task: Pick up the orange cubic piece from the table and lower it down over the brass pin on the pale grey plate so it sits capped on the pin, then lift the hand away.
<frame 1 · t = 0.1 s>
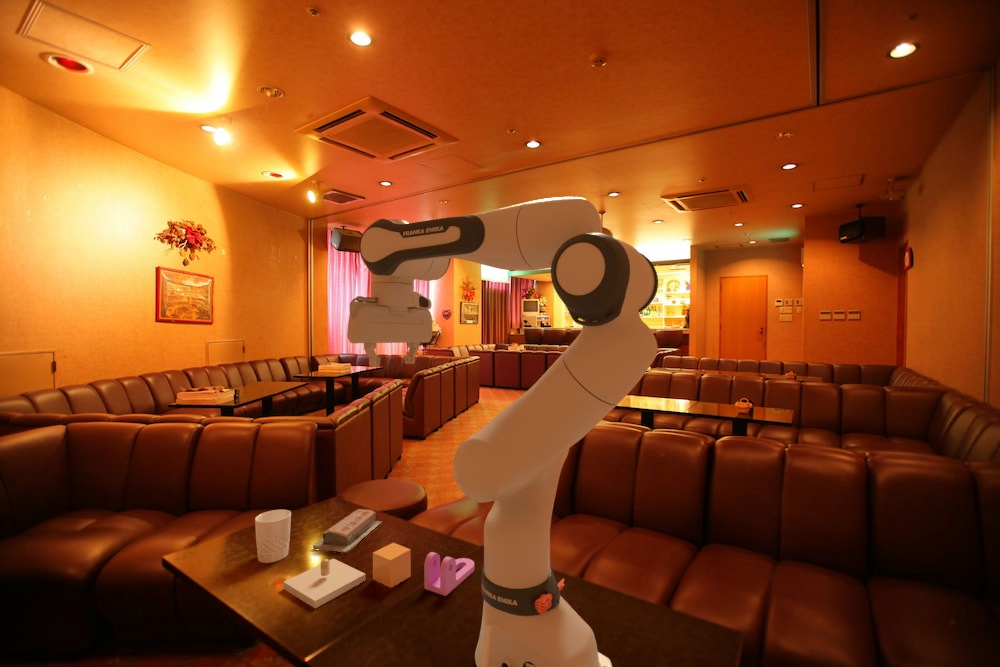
hand: (393, 364, 91), 48 cm above the table, tool pointing down, fingers open, 8 cm apart
white cup: (273, 557, 106), on the table
bracket: (452, 579, 96), on the table
orange cubic piece: (392, 578, 96), on the table
packaged product: (349, 538, 117), on the table
pin plate: (325, 584, 94), on the table
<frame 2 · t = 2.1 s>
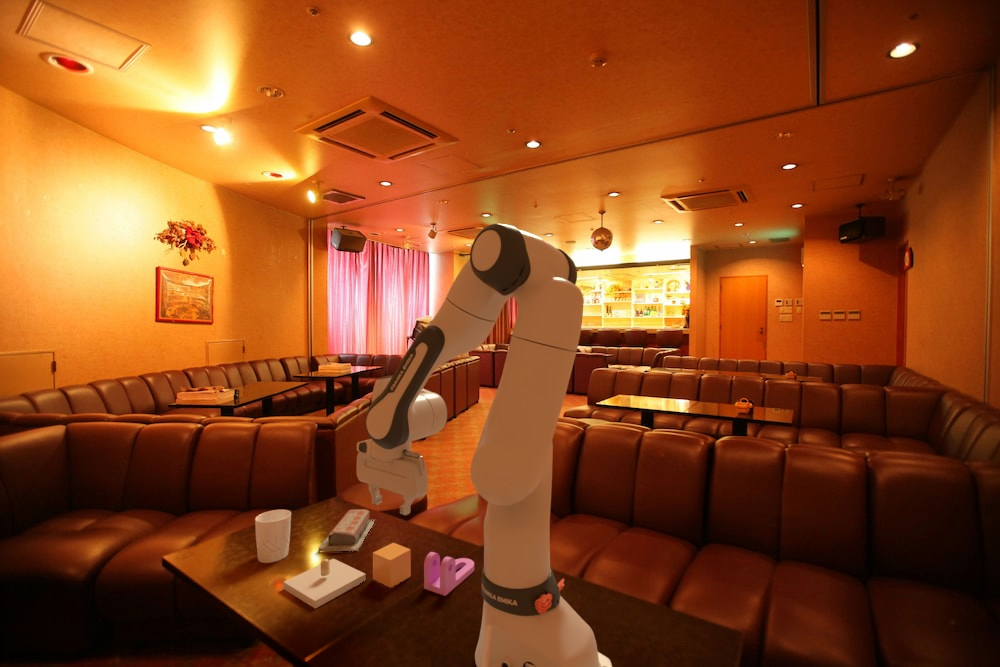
hand: (390, 508, 96), 15 cm above the table, tool pointing down, fingers open, 8 cm apart
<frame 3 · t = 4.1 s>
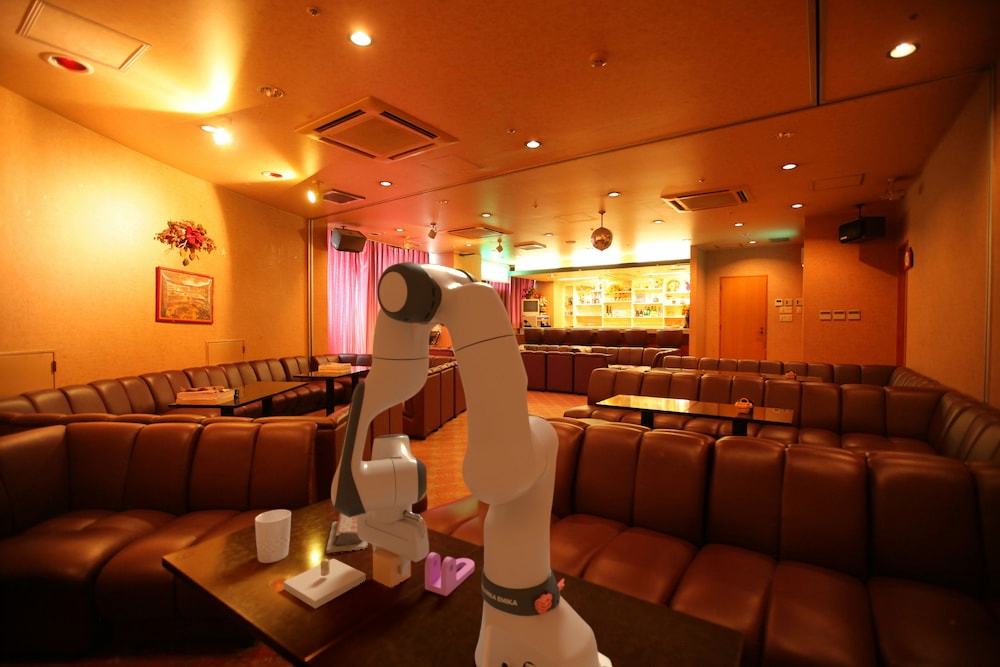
hand: (391, 568, 96), 2 cm above the table, tool pointing down, fingers closed on orange cubic piece, 6 cm apart
orange cubic piece: (392, 578, 96), on the table, touching gripper
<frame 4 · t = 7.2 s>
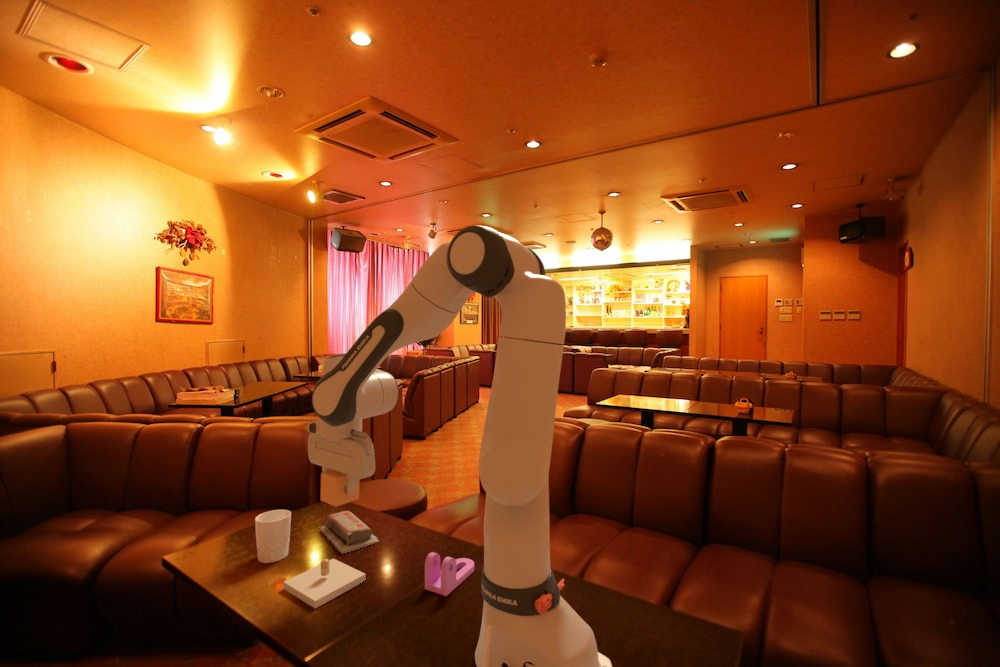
hand: (339, 490, 95), 20 cm above the table, tool pointing down, fingers closed on orange cubic piece, 6 cm apart
orange cubic piece: (340, 499, 95), point 18 cm above the table, touching gripper
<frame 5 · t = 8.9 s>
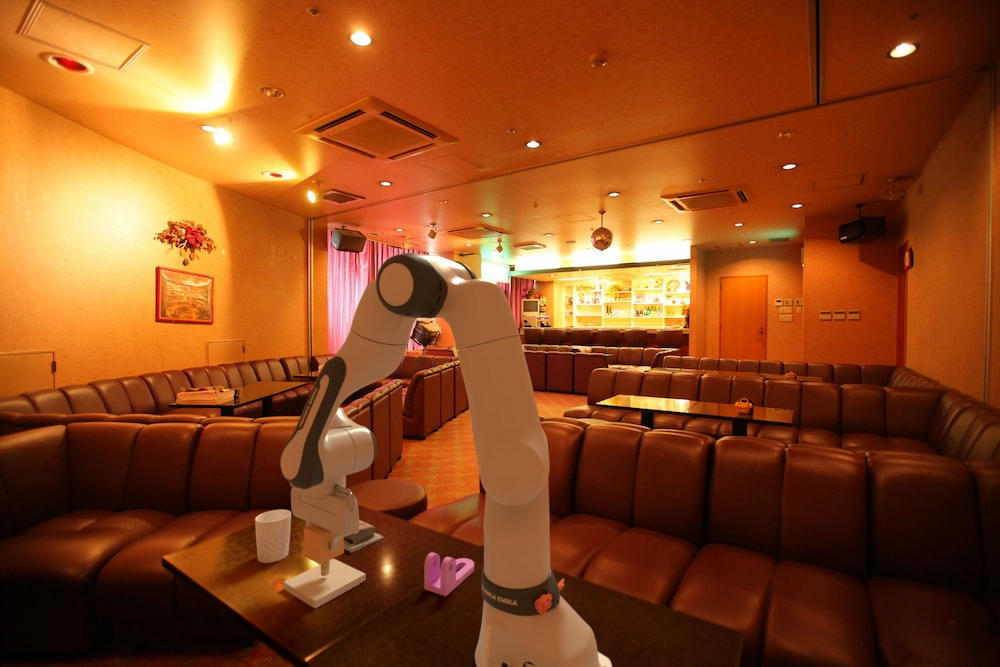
hand: (324, 545, 94), 9 cm above the table, tool pointing down, fingers closed on orange cubic piece, 6 cm apart
orange cubic piece: (324, 554, 94), point 7 cm above the table, touching gripper
when the fingers open (5 cm above the table, at t = 10.2 s): orange cubic piece stays where it is, resting on pin plate.
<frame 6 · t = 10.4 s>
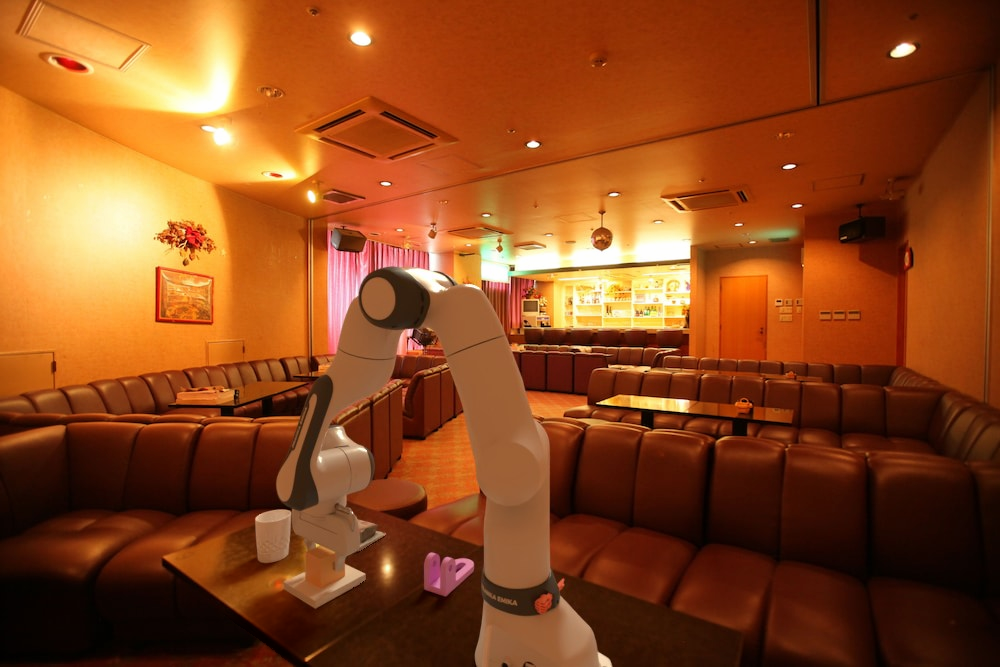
hand: (325, 563, 94), 5 cm above the table, tool pointing down, fingers open, 8 cm apart
orange cubic piece: (325, 577, 94), point 1 cm above the table, touching pin plate
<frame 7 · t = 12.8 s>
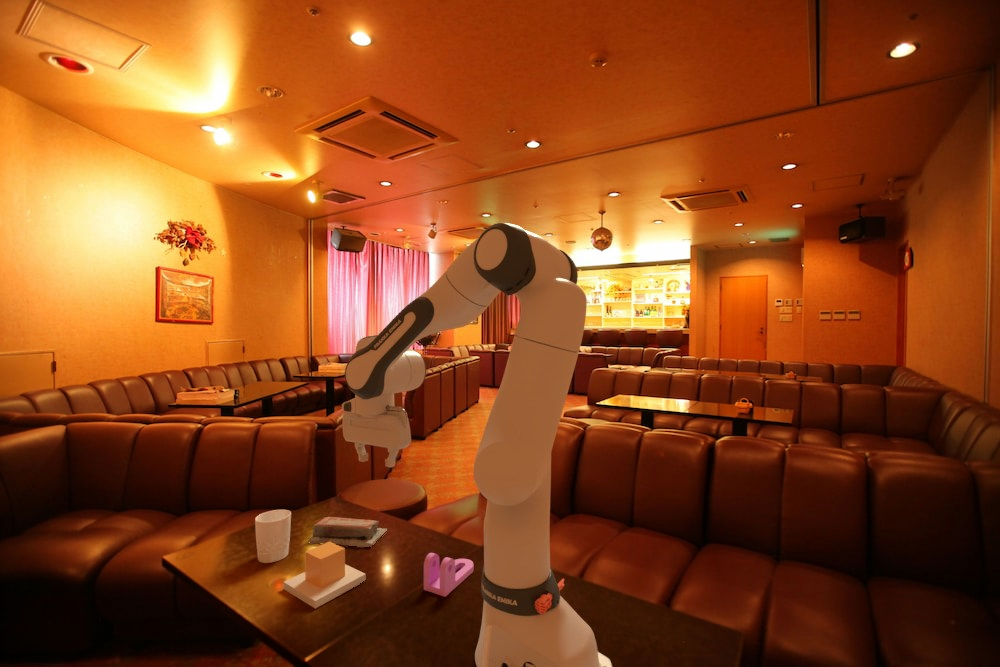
hand: (376, 463, 101), 24 cm above the table, tool pointing down, fingers open, 8 cm apart
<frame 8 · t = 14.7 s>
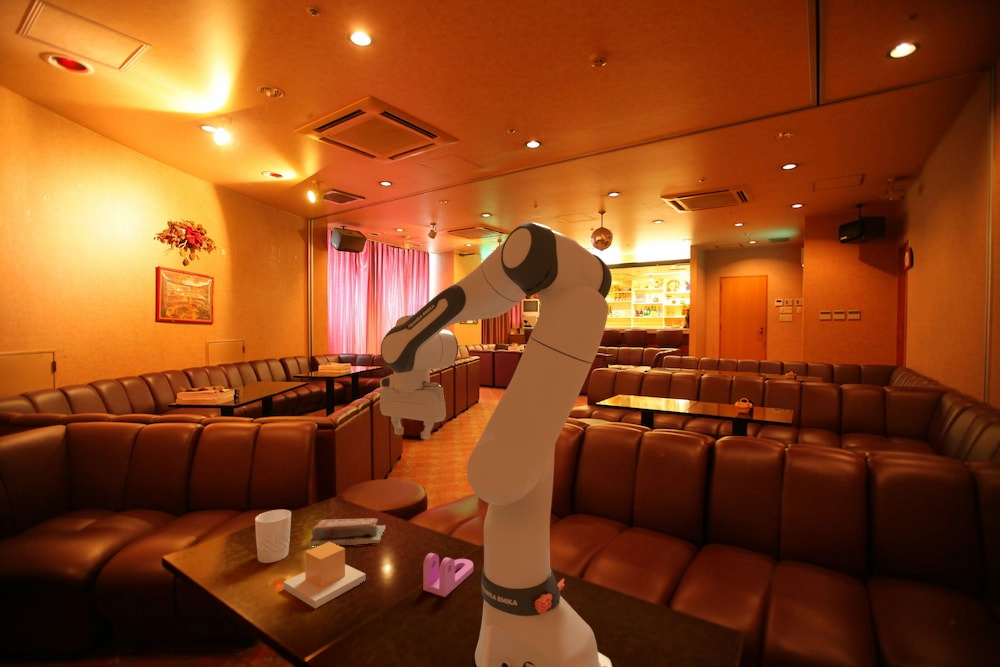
hand: (412, 436, 107), 29 cm above the table, tool pointing down, fingers open, 8 cm apart
at the end: orange cubic piece 0.1 cm off-centre on the pin plate, point 1.5 cm above the pin plate's base; orange cubic piece tilted 0°; the gripper is holding nothing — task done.
